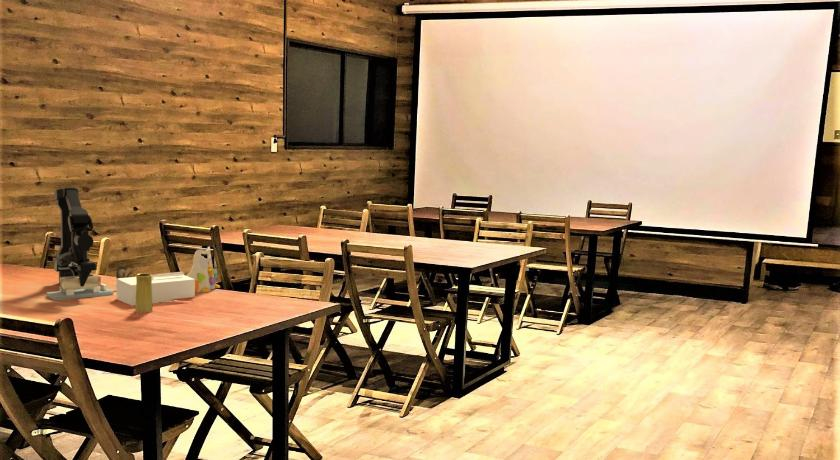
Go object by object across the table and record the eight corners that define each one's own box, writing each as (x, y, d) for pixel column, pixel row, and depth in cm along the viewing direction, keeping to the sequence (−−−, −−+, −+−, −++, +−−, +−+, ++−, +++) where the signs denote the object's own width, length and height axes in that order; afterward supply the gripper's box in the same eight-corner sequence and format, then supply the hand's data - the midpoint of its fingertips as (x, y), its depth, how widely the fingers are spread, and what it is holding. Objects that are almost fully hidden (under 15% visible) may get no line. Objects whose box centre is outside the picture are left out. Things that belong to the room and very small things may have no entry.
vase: (147, 311, 315) (147, 272, 314) (155, 314, 311) (156, 275, 309) (131, 313, 311) (131, 274, 309) (139, 316, 307) (139, 277, 305)
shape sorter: (204, 296, 344) (204, 252, 342) (179, 294, 346) (179, 250, 344) (224, 287, 363) (225, 245, 361) (201, 285, 365) (201, 243, 363)
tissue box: (116, 300, 332) (116, 272, 330) (178, 294, 348) (178, 267, 346) (131, 308, 321) (131, 279, 319) (194, 301, 337) (195, 273, 335)
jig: (46, 296, 333) (46, 287, 332) (102, 290, 348) (102, 281, 347) (55, 301, 326) (55, 291, 325) (113, 294, 340) (113, 286, 340)
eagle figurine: (137, 287, 355) (137, 266, 354) (131, 291, 348) (131, 269, 347) (118, 287, 355) (118, 265, 354) (112, 290, 348) (112, 268, 347)
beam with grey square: (60, 289, 333) (59, 276, 332) (96, 285, 343) (96, 272, 342) (63, 290, 330) (63, 277, 329) (100, 287, 340) (100, 274, 339)
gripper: (49, 243, 335) (49, 283, 337) (67, 250, 322) (67, 291, 324) (78, 241, 343) (78, 280, 345) (97, 248, 329) (97, 288, 331)
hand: (79, 285), depth 336 cm, fingers closed on beam with grey square, 4 cm apart
